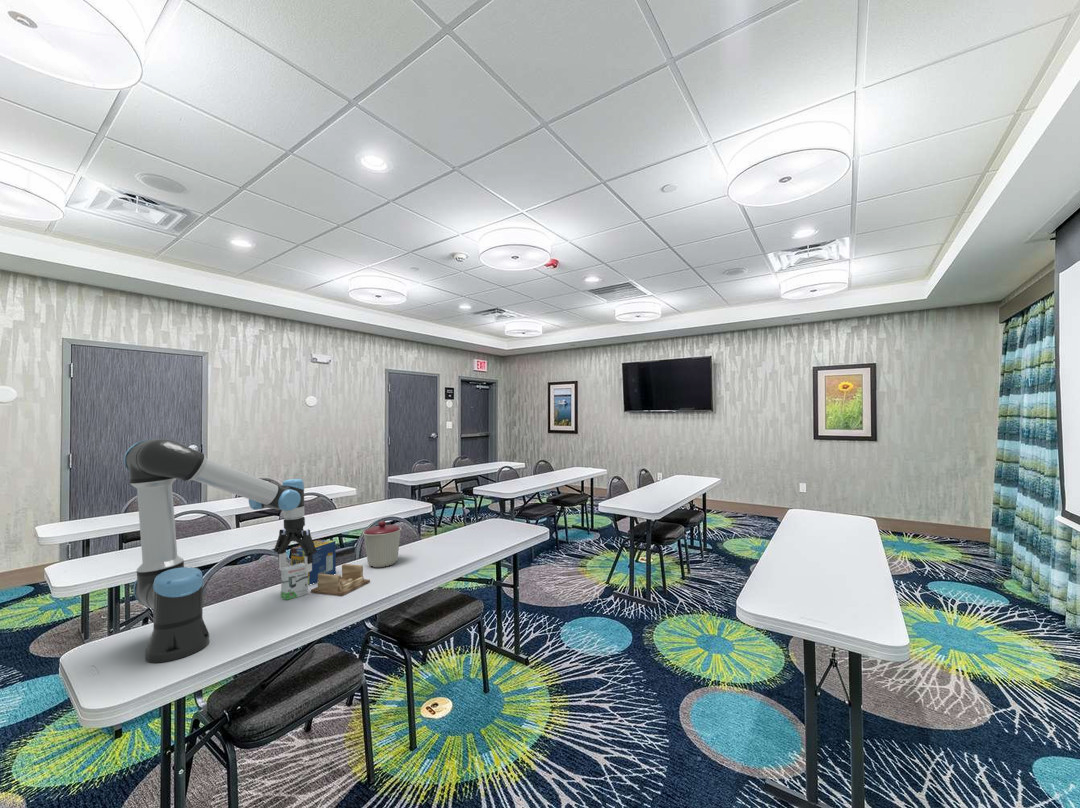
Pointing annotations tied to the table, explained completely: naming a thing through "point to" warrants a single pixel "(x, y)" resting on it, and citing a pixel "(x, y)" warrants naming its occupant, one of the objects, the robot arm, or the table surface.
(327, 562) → the protein box
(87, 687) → the table surface
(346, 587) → the peg frame
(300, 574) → the ink box
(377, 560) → the canister
